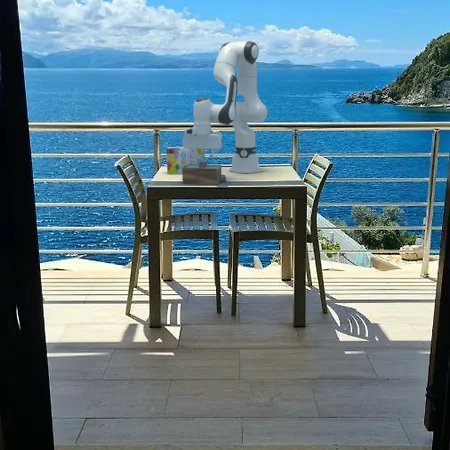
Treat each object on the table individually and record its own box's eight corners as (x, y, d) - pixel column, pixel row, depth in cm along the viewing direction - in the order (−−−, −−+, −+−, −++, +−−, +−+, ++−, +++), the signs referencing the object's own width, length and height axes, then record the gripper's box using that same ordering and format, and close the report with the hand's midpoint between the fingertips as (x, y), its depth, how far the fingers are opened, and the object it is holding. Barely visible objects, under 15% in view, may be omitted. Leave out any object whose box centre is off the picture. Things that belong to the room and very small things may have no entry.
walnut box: (188, 179, 311) (188, 164, 309) (221, 180, 308) (221, 165, 306) (182, 183, 300) (182, 167, 298) (216, 184, 297) (216, 168, 295)
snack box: (204, 172, 333) (204, 146, 329) (204, 174, 327) (204, 147, 323) (167, 172, 332) (166, 146, 328) (167, 174, 327) (166, 147, 323)
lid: (189, 166, 308) (189, 160, 307) (220, 167, 305) (220, 161, 304) (184, 169, 299) (184, 163, 298) (216, 170, 296) (216, 163, 295)
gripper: (223, 130, 298) (223, 157, 301) (184, 129, 302) (184, 156, 305) (220, 131, 292) (220, 159, 295) (181, 130, 296) (181, 157, 299)
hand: (202, 157), depth 300 cm, fingers open, 8 cm apart
